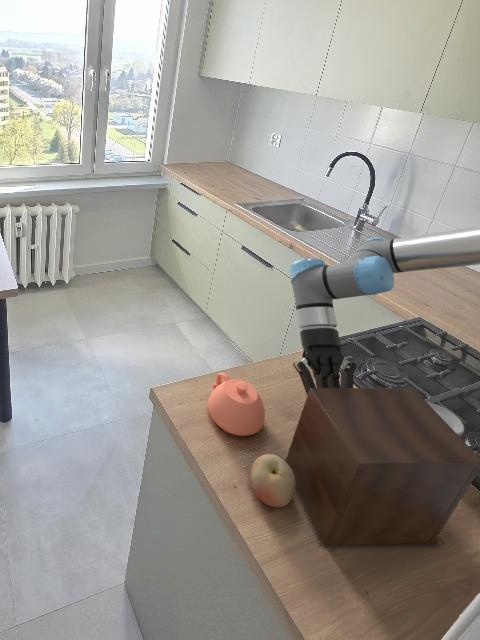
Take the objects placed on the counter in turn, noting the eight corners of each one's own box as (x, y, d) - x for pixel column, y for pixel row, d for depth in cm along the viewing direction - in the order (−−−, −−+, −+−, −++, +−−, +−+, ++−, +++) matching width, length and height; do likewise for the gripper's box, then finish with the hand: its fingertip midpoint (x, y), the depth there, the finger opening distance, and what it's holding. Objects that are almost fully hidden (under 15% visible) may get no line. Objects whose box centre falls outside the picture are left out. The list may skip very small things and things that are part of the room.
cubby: (377, 463, 87) (413, 387, 78) (433, 543, 73) (484, 462, 64) (284, 464, 86) (309, 387, 77) (323, 545, 72) (360, 463, 63)
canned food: (406, 432, 94) (424, 396, 90) (449, 458, 88) (470, 421, 84) (392, 449, 90) (410, 412, 85) (436, 478, 84) (458, 440, 80)
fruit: (237, 490, 80) (245, 462, 77) (260, 466, 85) (268, 439, 82) (276, 525, 75) (287, 496, 71) (298, 497, 79) (308, 469, 76)
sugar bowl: (229, 449, 88) (237, 415, 84) (191, 400, 100) (197, 367, 96) (273, 432, 92) (284, 398, 88) (232, 387, 104) (240, 355, 100)
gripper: (336, 331, 95) (358, 447, 87) (281, 330, 95) (298, 447, 86) (357, 327, 88) (383, 452, 80) (298, 326, 88) (318, 452, 79)
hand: (339, 449), depth 83 cm, fingers closed
